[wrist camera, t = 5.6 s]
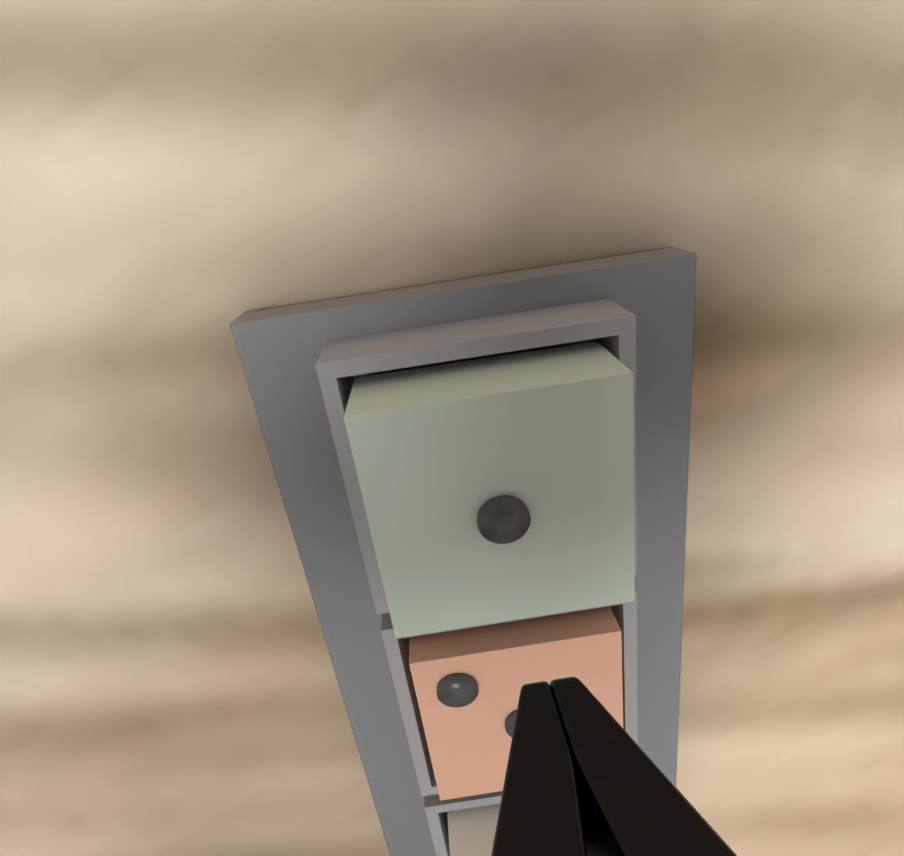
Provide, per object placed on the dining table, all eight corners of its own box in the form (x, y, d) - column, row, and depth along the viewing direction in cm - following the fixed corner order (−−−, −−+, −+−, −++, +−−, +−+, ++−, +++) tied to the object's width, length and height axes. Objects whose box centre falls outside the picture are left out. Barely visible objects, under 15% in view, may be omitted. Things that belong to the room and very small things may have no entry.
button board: (659, 810, 26) (694, 898, 23) (400, 851, 26) (399, 945, 23) (671, 247, 16) (737, 264, 13) (245, 311, 16) (203, 345, 13)
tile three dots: (600, 706, 21) (625, 776, 18) (437, 731, 21) (440, 805, 18) (594, 574, 18) (623, 634, 16) (409, 602, 18) (408, 668, 16)
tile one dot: (603, 542, 16) (636, 605, 14) (397, 573, 16) (395, 642, 14) (596, 340, 14) (635, 375, 11) (354, 378, 14) (343, 420, 11)
